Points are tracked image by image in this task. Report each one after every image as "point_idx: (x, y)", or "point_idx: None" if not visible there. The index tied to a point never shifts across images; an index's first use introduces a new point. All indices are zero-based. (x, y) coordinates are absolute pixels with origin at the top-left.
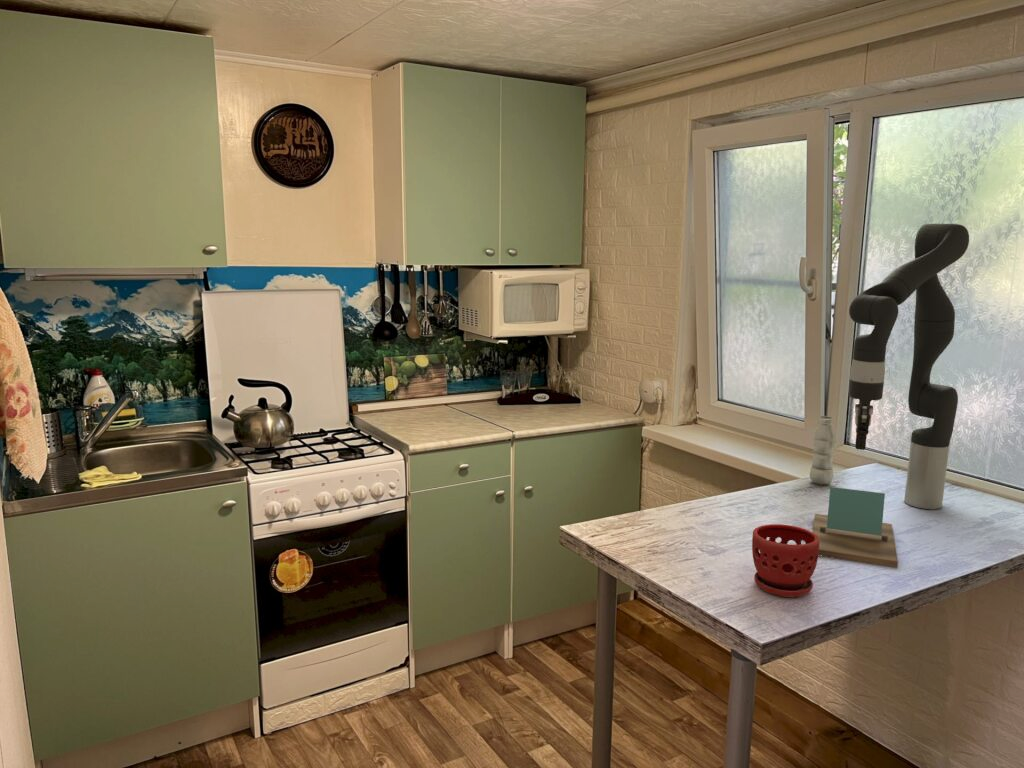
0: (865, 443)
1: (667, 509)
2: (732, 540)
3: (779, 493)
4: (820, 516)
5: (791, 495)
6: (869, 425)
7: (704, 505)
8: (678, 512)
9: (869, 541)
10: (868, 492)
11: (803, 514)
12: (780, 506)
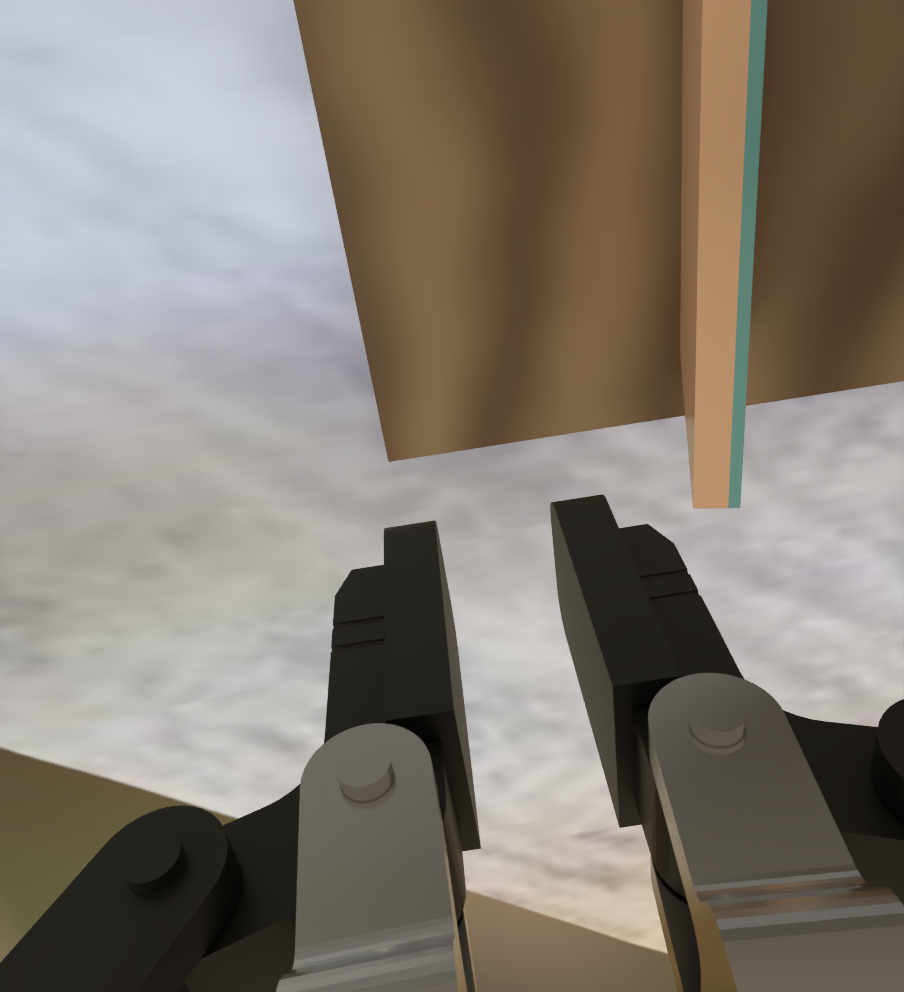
0: (628, 557)
1: (613, 918)
2: (880, 672)
3: (64, 679)
4: (422, 424)
5: (46, 626)
6: (893, 897)
7: (489, 853)
8: (628, 887)
9: (769, 49)
10: (757, 174)
11: (340, 508)
12: (285, 627)
